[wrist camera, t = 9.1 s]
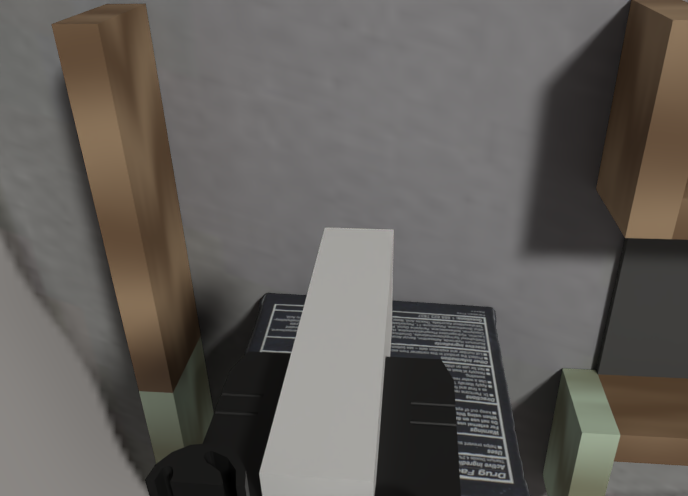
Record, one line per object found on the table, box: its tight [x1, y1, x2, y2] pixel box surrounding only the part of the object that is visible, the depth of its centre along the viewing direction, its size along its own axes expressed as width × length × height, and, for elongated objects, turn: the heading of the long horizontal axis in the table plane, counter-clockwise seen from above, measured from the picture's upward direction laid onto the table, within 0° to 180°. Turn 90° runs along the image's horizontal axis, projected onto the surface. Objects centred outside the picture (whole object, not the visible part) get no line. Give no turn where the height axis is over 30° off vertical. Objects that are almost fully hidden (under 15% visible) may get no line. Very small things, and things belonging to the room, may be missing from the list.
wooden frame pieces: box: [52, 0, 688, 496], centre depth 25 cm, size 23×34×4 cm
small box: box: [244, 293, 530, 496], centre depth 25 cm, size 11×6×10 cm, turn 89°
